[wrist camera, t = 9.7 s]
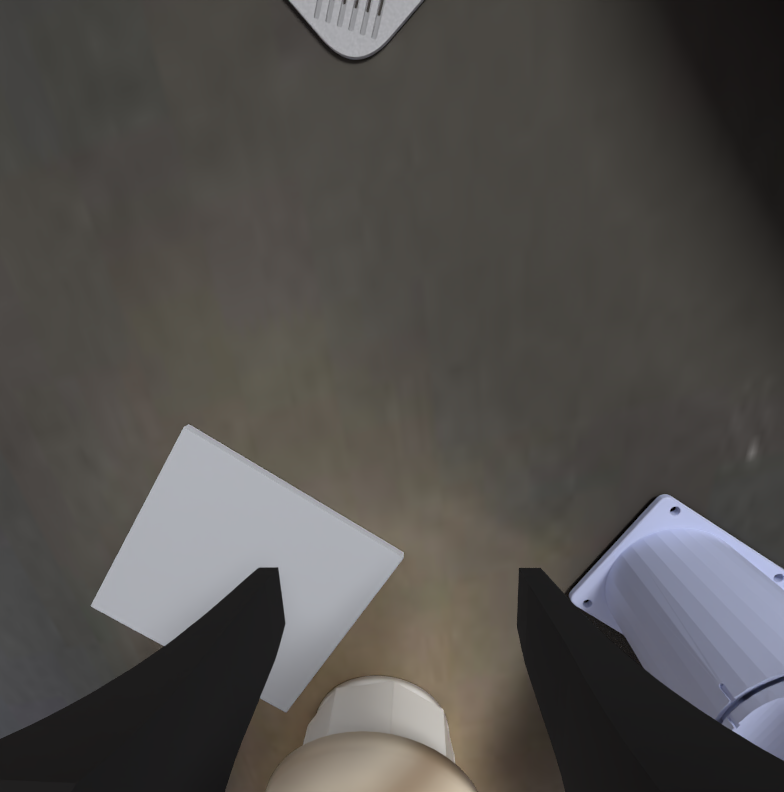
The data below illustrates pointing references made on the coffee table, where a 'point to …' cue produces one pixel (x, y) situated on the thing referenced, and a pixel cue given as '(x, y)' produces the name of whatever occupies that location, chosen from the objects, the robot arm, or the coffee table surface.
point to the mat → (243, 558)
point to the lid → (367, 766)
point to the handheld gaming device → (355, 23)
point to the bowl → (383, 712)
